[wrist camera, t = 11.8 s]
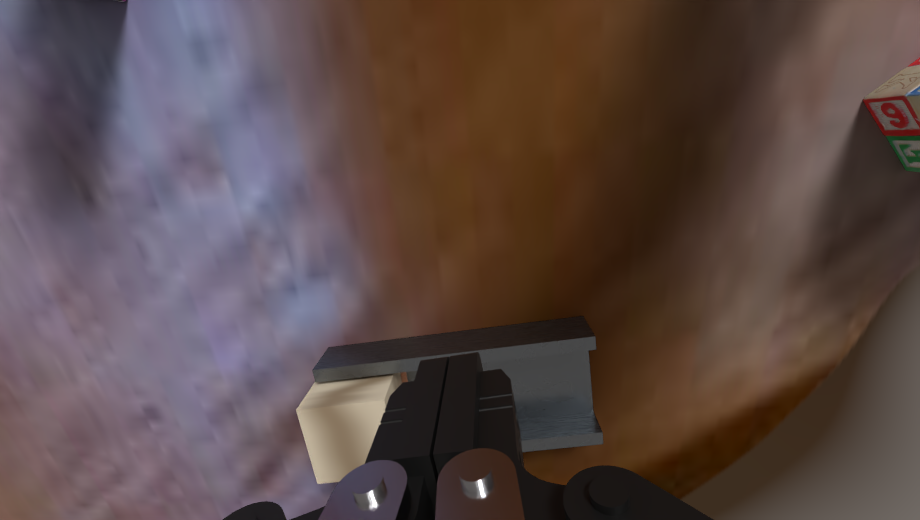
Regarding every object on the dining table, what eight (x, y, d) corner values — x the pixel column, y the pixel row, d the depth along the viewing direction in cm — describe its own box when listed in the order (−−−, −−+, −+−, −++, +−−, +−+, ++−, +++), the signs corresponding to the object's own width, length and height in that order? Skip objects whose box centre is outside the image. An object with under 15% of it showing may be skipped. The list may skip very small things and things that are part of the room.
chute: (582, 316, 32) (595, 336, 29) (591, 414, 35) (603, 443, 31) (328, 347, 34) (312, 370, 31) (352, 439, 36) (339, 470, 33)
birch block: (397, 361, 33) (384, 400, 28) (411, 428, 34) (401, 475, 29) (322, 370, 33) (296, 410, 28) (339, 436, 35) (317, 483, 30)
